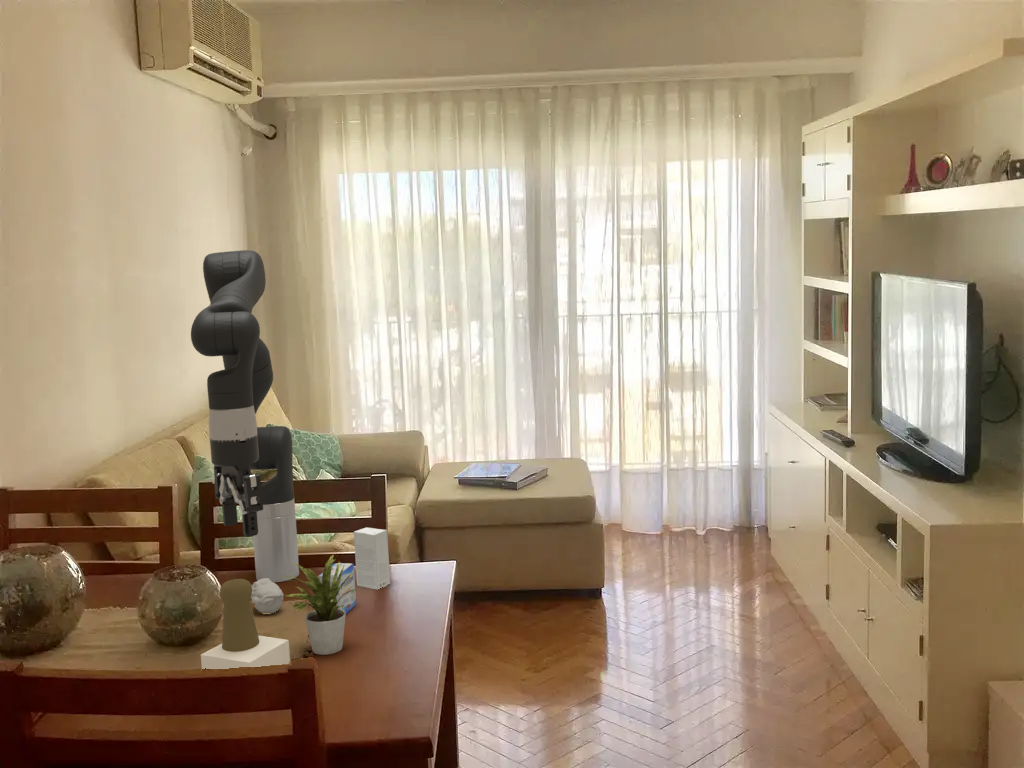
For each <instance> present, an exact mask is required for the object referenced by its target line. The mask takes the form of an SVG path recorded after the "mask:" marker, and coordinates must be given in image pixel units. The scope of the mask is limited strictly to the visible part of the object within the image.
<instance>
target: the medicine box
mask: <svg viewBox="0 0 1024 768" xmlns="http://www.w3.org/2000/svg"><path fill="white" fill-rule="evenodd" d="M338 563H339V562H338ZM338 563H333V565H332V569H331V576H330V587H331V586H332V582H333V578H334V575H335V571H336V568H337V566H338ZM344 564H345V565H344ZM343 566H344V570H343V574H342V577H341V579H342V578H343V579H342V580H341V581H340V584H339V587H340V585H341V584H342V583H343V582H344V581H345V579H346V578H347V577H348V576H349V575H350V574H351V575H350V576H349V577H348V579H347V580H346V581H345V583H344V584H343V585H342V587H341V588H340V590H339V592H338V594H337V597H336V599H337V602H338V600H339V599H340V598H341V596H342V595H343V594H345V593H346V592H348V591H350V590H354V589H356V579H355V564H354V563H350V562H349V563H347V562H346V563H343V562H340V565H339V572H338V575H337V578H336V581H337V580H338V577H339V574H340V572H341V570H342V568H343ZM322 574H323V572H322V573H320V574H319V575H317V576H318V578H319V580H320V581H321V584H322ZM339 587H338V588H339ZM342 605H344V606H343V609H342V607H339V608H338V609H342V610H344V611H345V612H346V615H347V614H348V613H349V612H350V611H351V610H353V608H354V607H355V606H356V605H357V596H356V591H351V592H349V593H347V594H345V595H344V596H343V597H342V598H341V599H340V600H339V602H338V604H337V605H336V606H342Z"/></svg>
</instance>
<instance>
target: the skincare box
mask: <svg viewBox="0 0 1024 768" xmlns="http://www.w3.org/2000/svg"><path fill="white" fill-rule="evenodd" d="M388 542H389V539H388V529H381V528H374V527H364V528H360V529H358V530H355V531H353V543H354V556H355V558H354V559H355V572H356V586H358V587H363V588H367V589H372V590H376V591H377V590H378V589H379V590H381V589H383V588H385V587H388V586H389V585H388V584H390V585H391V573H390V559H389V558H390V557H389V544H388ZM387 585H388V586H387ZM382 587H383V588H382ZM380 588H381V589H380Z"/></svg>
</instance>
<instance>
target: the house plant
mask: <svg viewBox="0 0 1024 768" xmlns="http://www.w3.org/2000/svg"><path fill="white" fill-rule="evenodd" d="M335 561H336V558H334V554H332V555H330V557H329V559H328V560H327V561H326V562H325V565H324V569H323V571H322V573H323V574H322V573H321V574H322V584H321V581H320V580H319V578H318V576H319V575H317V574H316V573H315V572H314V571H313V570H312V569H311V568H309V567H308V569H307V568H305V567H303V566H302V565H300V564H299V565H297V564H294V563H292V564H294V565H297V566H298V567H299V569H300V570H301V571H302V572H303V573H304V575H305V576H306V577H305V578H306V579H307V580H308V581H303V580H301V579H300V578H297V577H289V578H293V579H295V580H293V579H291V580H287V581H289V582H290V581H293V582H295V583H298V584H300V586H301V587H303V588H301V587H299V586H296V588H297V589H298V590H299V591H300V593H291V594H284V596H283V597H287V598H297V599H301V600H306V601H308V602H309V603H307V602H298V600H297V599H294V601H295V602H296V601H297V603H295V604H293V606H292V607H291V608H290V610H292V609H294V608H296V609H295V612H294V614H296V612H298V611H300V610H301V609H303V608H305V607H307V608H308V609H310V610H311V611H309V612H308V613H306V614H305V615H304V620H305V625H306V629H307V633H308V638H309V642H310V646H311V650H312V652H313V653H314V654H315V655H322V656H325V655H332V654H335V653H339V652H340V651H341V650H342V649H343V644H344V634H345V624H346V623H345V622H346V615H347V614H346V612H345V611H344V610H342V609H343V606H344V605H342V606H336V605H337V604H338V602H339V600H340V599H341V598H342V597H343V596H344V595H345V594H347V593H349V592H351V591H355V592H356V591H358V592H360V589H357V588H355V589H354V590H350V591H348V592H346V593H345V594H343V595H342V596H341V598H340V599H339V600H338V602H337V599H336V597H337V594H338V592H339V590H340V588H341V587H342V585H343V584H344V583H345V581H346V580H347V579H348V577H349V576H350V575H351V574H350V575H349V576H348V577H347V578H346V579H345V581H344V582H343V583H342V584H341V585H340V587H339V584H340V581H341V580H342V579H343V578H342V579H341V577H342V574H343V570H344V566H343V568H342V570H341V572H340V574H339V577H338V580H337V581H336V578H337V575H338V572H339V565H340V563H341V562H340V560H339V561H338V566H337V568H336V571H335V575H334V578H333V582H332V586H331V587H330V576H331V569H332V565H333V564H334V562H335ZM344 565H345V564H344ZM283 577H288V576H283ZM297 580H298V581H297ZM299 581H301V582H302V583H303V584H305V585H303V584H302V583H301V582H299ZM305 586H307V587H308V588H309V589H310V590H311V591H312V593H313V594H311V593H310V592H309V591H308V589H307V588H306V587H305ZM338 587H339V588H338ZM310 607H311V608H312V609H311V608H310ZM339 607H342V609H338V608H339Z"/></svg>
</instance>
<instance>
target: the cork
mask: <svg viewBox="0 0 1024 768" xmlns="http://www.w3.org/2000/svg"><path fill="white" fill-rule="evenodd" d="M251 595H252V584H251V582H250V581H249V580H247V579H245V578H233V579H230V580H227V581H225V582H224V583H222V584H221V586H220V588H219V597H220V599H221V601H222V602H223V617H222V618H223V619H222V642H221V644H222V648H223V650H225V651H230V652H239V651H245V650H249V649H251V648H254V647H255V646H257V645H258V644H259V637H258V635H259V634H258V629H257V625H256V620H255V617H254V611H253V608H252V604H251Z"/></svg>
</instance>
